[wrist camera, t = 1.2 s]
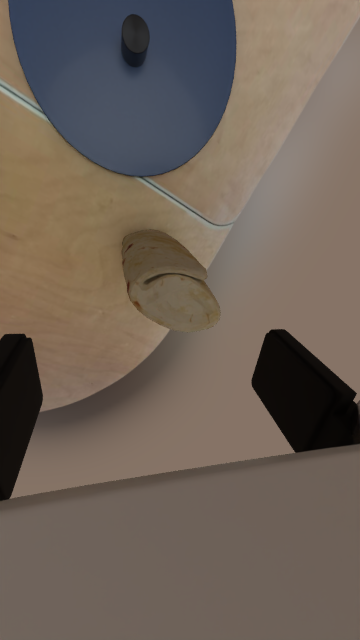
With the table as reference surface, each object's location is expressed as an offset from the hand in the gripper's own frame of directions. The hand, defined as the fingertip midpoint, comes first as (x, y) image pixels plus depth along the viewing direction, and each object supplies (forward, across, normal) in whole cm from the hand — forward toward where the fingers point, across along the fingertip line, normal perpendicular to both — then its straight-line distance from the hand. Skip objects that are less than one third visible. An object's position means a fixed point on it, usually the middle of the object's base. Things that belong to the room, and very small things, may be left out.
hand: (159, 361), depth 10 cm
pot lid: (+30, 0, -18) cm, 35 cm away
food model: (+30, -4, +2) cm, 31 cm away
